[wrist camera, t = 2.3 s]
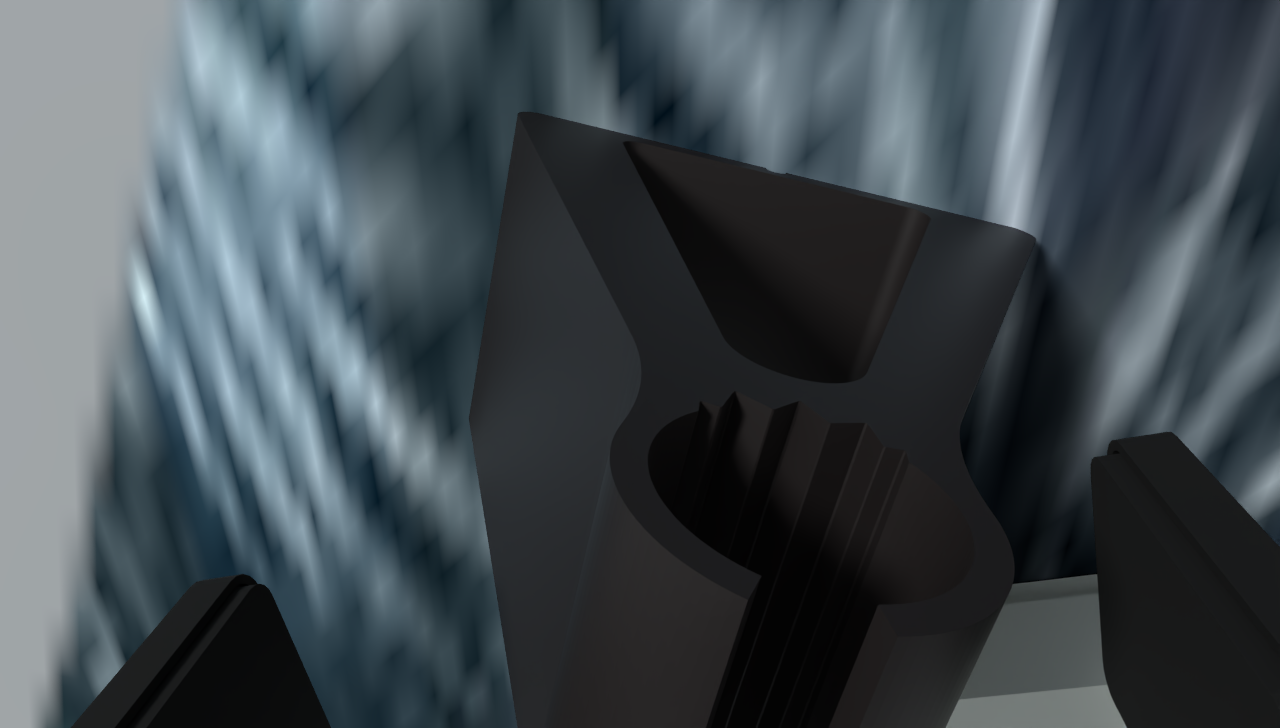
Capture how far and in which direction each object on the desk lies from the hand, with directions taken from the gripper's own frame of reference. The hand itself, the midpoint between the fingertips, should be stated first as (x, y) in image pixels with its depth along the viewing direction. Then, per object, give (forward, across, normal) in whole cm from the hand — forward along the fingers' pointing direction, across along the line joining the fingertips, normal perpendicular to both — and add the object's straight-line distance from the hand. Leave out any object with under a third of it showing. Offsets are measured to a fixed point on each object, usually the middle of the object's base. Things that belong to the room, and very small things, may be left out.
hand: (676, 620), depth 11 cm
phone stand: (+8, -1, 0) cm, 8 cm away
